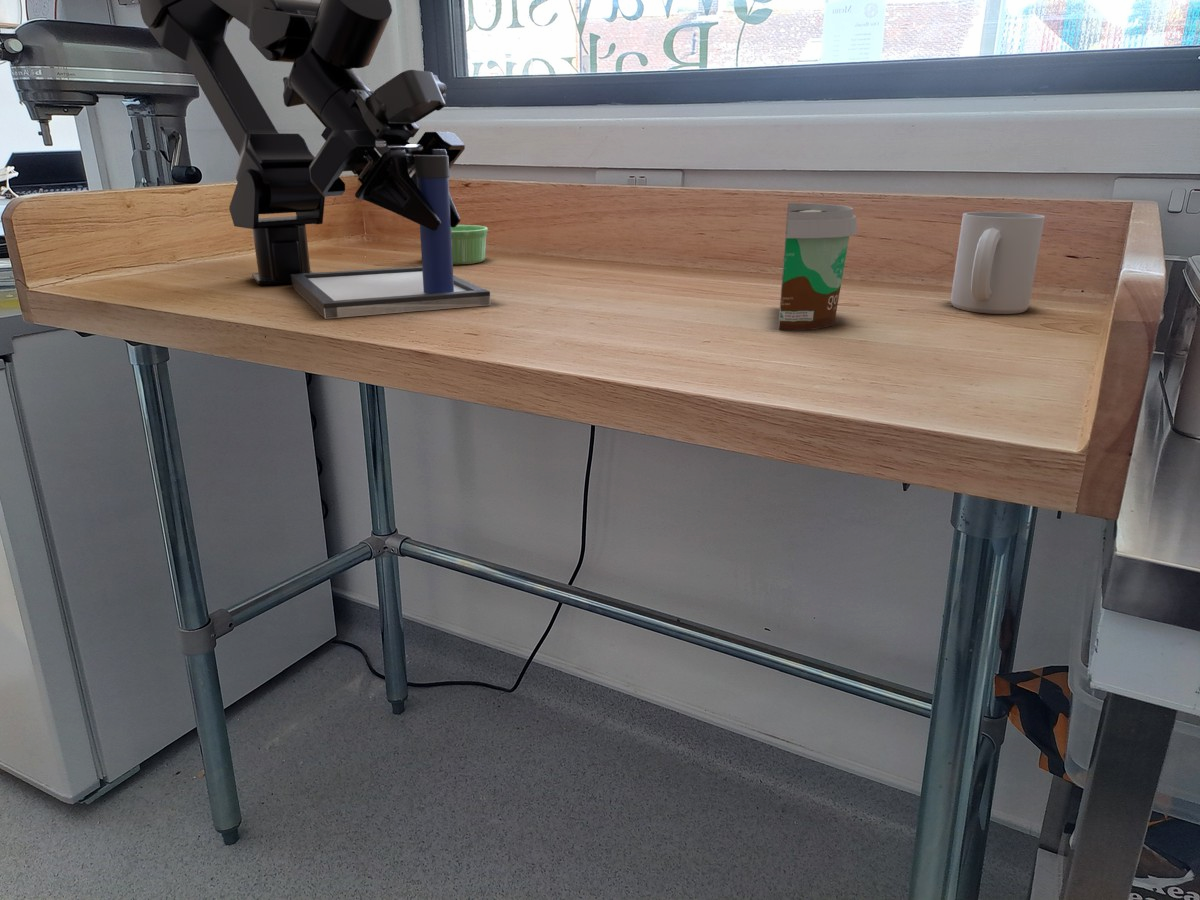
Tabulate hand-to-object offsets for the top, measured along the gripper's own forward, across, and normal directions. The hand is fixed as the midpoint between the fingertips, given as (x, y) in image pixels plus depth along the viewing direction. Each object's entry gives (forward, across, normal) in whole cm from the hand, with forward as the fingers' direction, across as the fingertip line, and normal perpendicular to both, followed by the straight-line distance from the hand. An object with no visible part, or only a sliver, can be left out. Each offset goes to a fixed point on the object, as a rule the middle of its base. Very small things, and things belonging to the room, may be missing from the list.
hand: (447, 225), depth 83 cm
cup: (+40, +19, -29) cm, 53 cm away
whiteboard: (-1, +1, +11) cm, 11 cm away
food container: (+30, +6, -19) cm, 36 cm away
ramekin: (-6, +27, +17) cm, 33 cm away
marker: (+4, 0, +6) cm, 7 cm away
